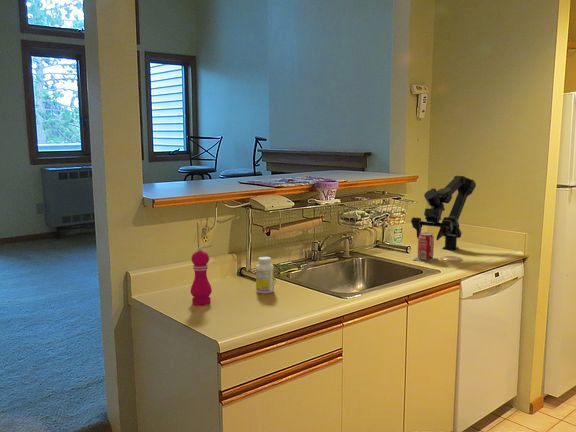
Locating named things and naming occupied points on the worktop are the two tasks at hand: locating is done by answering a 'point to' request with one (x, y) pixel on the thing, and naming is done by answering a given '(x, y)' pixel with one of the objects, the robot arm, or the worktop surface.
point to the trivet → (451, 258)
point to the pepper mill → (200, 279)
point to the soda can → (425, 246)
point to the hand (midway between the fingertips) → (427, 238)
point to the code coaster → (425, 260)
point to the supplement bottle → (264, 276)
